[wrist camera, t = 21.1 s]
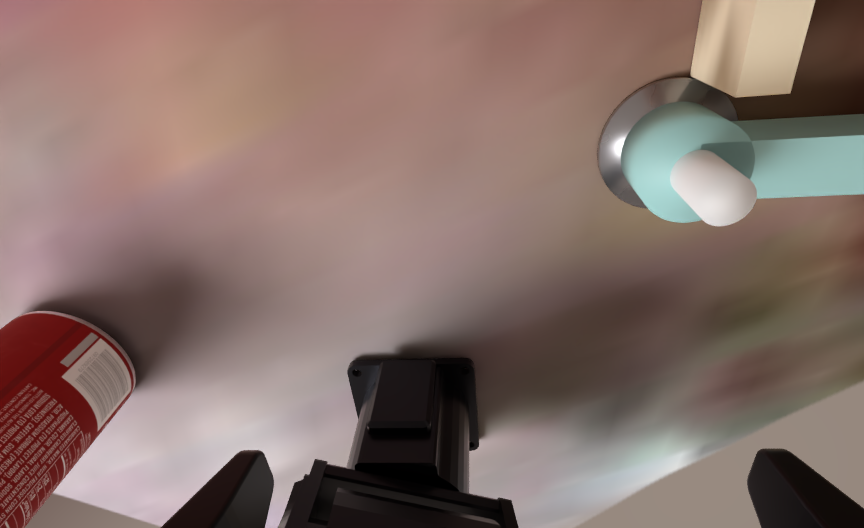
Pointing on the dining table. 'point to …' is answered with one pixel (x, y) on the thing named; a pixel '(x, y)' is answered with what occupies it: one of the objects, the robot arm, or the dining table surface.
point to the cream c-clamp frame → (750, 45)
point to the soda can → (52, 403)
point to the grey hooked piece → (640, 106)
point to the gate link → (738, 161)
